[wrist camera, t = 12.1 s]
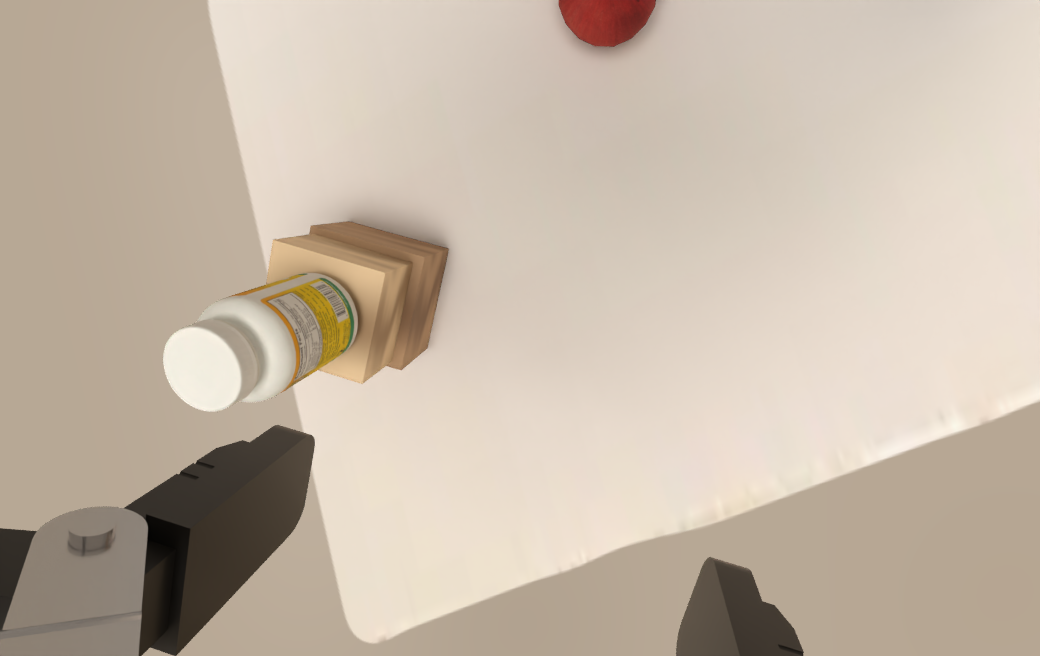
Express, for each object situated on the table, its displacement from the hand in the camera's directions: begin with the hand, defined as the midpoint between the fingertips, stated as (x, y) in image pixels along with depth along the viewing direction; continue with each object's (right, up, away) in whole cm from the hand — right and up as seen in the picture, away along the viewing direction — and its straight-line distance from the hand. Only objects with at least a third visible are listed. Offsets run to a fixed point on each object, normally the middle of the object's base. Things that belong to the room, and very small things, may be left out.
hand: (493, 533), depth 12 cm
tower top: (-11, +6, +28) cm, 31 cm away
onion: (+6, +25, +28) cm, 38 cm away
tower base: (-10, +7, +34) cm, 36 cm away
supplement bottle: (-11, +5, +24) cm, 27 cm away
